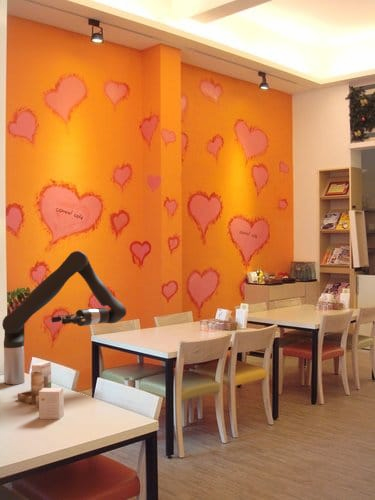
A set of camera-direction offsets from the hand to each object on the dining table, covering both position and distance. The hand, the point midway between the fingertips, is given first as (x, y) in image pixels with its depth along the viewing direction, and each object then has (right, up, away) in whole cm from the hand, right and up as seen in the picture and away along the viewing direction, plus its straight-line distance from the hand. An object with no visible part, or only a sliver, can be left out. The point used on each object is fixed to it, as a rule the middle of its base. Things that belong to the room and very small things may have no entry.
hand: (57, 320), depth 248 cm
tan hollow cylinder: (-6, -32, -9) cm, 33 cm away
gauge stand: (0, -32, -19) cm, 38 cm away
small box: (+6, -33, -34) cm, 47 cm away
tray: (-6, -32, -9) cm, 34 cm away
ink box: (-9, -32, +8) cm, 34 cm away
